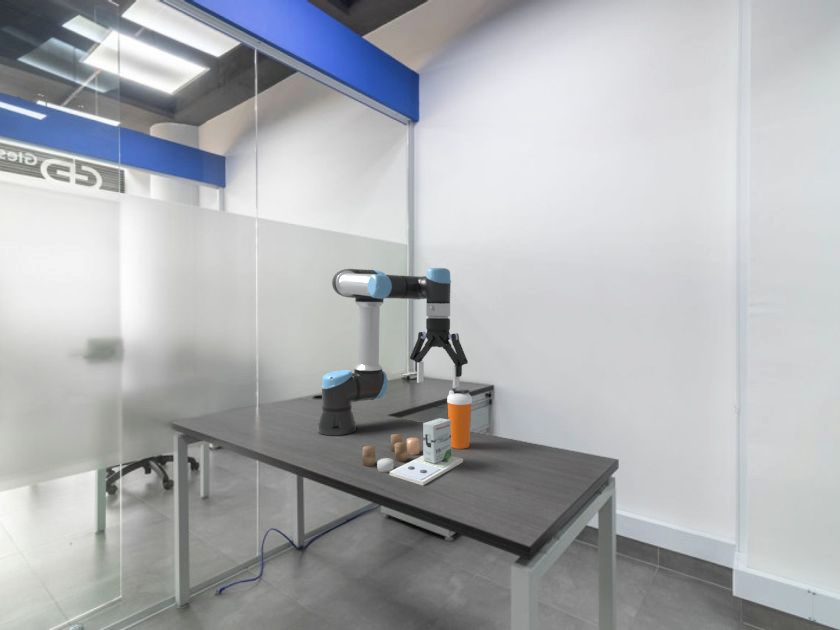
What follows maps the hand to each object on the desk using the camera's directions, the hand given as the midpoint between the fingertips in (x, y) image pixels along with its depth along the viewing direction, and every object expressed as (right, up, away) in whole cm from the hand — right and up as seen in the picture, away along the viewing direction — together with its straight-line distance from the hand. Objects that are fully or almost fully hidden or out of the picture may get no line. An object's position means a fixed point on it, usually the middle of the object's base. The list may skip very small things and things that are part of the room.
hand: (437, 384), depth 131 cm
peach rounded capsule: (-8, -25, +9) cm, 27 cm away
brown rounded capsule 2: (-12, -25, +3) cm, 27 cm away
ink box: (0, -24, 0) cm, 24 cm away
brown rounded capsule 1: (-14, -25, +12) cm, 30 cm away
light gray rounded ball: (-16, -25, -5) cm, 30 cm away
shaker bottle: (+8, -25, +17) cm, 31 cm away
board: (-3, -25, -5) cm, 25 cm away
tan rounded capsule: (-22, -25, -1) cm, 33 cm away
